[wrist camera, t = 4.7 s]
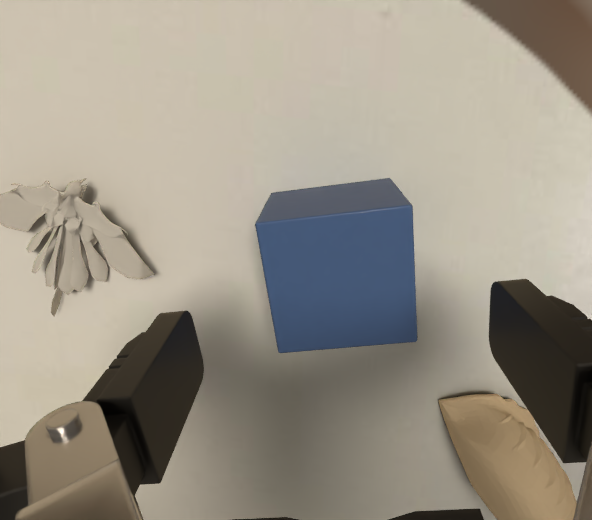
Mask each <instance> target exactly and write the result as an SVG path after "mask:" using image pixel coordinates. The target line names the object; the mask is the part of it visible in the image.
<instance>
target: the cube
mask: <svg viewBox="0 0 592 520" xmlns="http://www.w3.org/2000/svg"><path fill="white" fill-rule="evenodd" d="M255 226H256V231H257V237H258V242H259V248H260V253H261V259H262V265H263V270H264V276H265V281H266V287H267V292H268V298H269V303H270V309H271V314H272V320H273V325H274V331H275V336H276V342H277V347H278V352H279V353H287V352H299V351H311V350H323V349H335V348H347V347H359V346H371V345H383V344H395V343H407V342H416V341H417V316H416V289H415V262H414V235H413V208H412V205H411V203H410V202H409V201H408V200H407V198H406V197H405V196H404V195H403V194H402V192H401V191H400V190H399V189H398V187H397V186H396V185H395V184H394V182H393V181H392V180H391V179H390V178H387V179H379V180H371V181H363V182H355V183H347V184H339V185H331V186H323V187H315V188H307V189H299V190H291V191H283V192H275V193H271V195H270V197H269V199H268V201H267V203H266V204H265V206H264V208H263V210H262V212H261V214H260V216H259V218H258V220H257V222H256V224H255Z"/></svg>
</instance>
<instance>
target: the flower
mask: <svg viewBox="0 0 592 520" xmlns="http://www.w3.org/2000/svg"><path fill="white" fill-rule="evenodd" d="M84 180H86V178H85V179H83V180H80V181H79V180H77V181H72V182H70V183H69V184H68V185H67V187H66V189H65V192H60V191H57V190H55V189H53V188H52V187H50V186H49V185H50V183H49V181H45V182H44V185H42V186H39V187H33V188H30V187H26V186H23V185H21V184H15V183H13V184H11V185H19V186H18V187H17V188H16V189H14V190H11V191H9V192H7V193H3V194H0V223H1V224H2V225H3V226H5V227H8V228H12V229H17V230H22V231H26V232H28V231H29V229H30V228H31V227H32V225H33V224H34V222H35V221H36V220H37V219H38V218H39V217H41V216H42V215H44V214H45V213H46V212H47V213H46V215H45V219H46V223H47V224H48V227H47V228H46V229H44V230H43V231H41V232H39V233H37V234H36V235H35V236H34V237H33V238H32V239H31V241H30V243H29V245H28V246H27V248H26V249H27V251H28V252H33V251H34V250H35V249H36V248H37V247H38V245H39V244H40V242H41V240H42V238H43V237H44V235H45V234H46V233H47V232H48V231H49V230H50V229H52V234H51V236H50V238H49V239H48V241H47V243H46V244H45V246H44V247H43V249H42V250H41V252H40V253H39V255H38V256H37V258H36V259H35V261H34V265H33V269H32V272H33V273H36V272H37V271H38V270H39V268H40V266H41V265H42V263H43V260H44V257H45V253H46V250H47V247H48V246H49V244H50V242H51V240H52V238H53V236H54V234H55V232H56V230H57V228H58V227H59V226H60V228H59V231H58V235H57V239H56V243H55V248H54V252H53V255H52V257H51V259H50V262H49V264H48V265H47V267H46V272H45V278H46V286H49V287H51V286H52V285H53V284H54V280H55V270H56V258H57V254H58V250H59V245H60V250H59V258H58V266H57V274H56V281H55V289H56V288H57V290H56V293H55V296H54V298H53V301H52V308H51V313H52V315H53V316H55V314H56V311H57V309H58V307H59V304H60V300H61V296H62V292H64V293H66V294H67V295H69V294H70V293H71V292H72V291H73V290H74V289H75V290H77V291H80V292H81V291H82V289H83V288H84V286H85V284H86V283H87V281H88V274H89V273H88V271H87V269H86V266H85V264H84V261H83V258H82V254H81V245H80V237H81V240H82V243H83V244H84V248H85V251H86V254H87V259H88V265H89V269H90V272H91V275H92V277H93V278H95V279H96V280H97V281H104V282H106V280H107V275H108V267H107V263H108V265H109V266H110V267H112V268H113V269H115V270H116V271H118V272H119V273H121V274H122V275H124V276H125V277H127V278H135V279H143V278H146V277H149V276H152V275H155V274H154V273H153V272H152V271H151V270H150V268H149V267H148V266H147V265H146V264H145V263H144V261H143V260H142V259H141V258H140V256H139V255H138V254H137V253H136V251H135V250H134V249H133V247H132V246H131V245H130V244H129V242H128V240H127V239H126V237H125V236H124V234H123V232H122V230H123V231H125V230H124V229H122V228H121V227H119V226H117V225H115V224H113V223H111V222H110V221H109V220H108V219H107V218H106V217H105V215H104V214H103V213H102V211H101V209H100V205H99V203H97V202H93V205H90V204H87V203H85V202H83V200H82V195H83V192H84V191H85V190H87V189H85V188H86V187H87V186H86V185H87V184H85V185H83V186H80V184H81V183H82V182H83V181H84ZM85 186H86V187H85ZM83 189H85V190H83ZM82 190H83V191H82ZM94 204H95V205H94ZM65 220H66V221H65ZM125 232H126V231H125ZM126 233H127V232H126ZM79 234H80V235H79ZM97 241H98V242H99V243H100V245H101V247H102V249H103V252H104V255H105V258H106V260H107V263H106V261H105V260H104V259H103V258H102V257H101V256H100V255H99V254H98V252H97V251H96V250H95V249H94V248H93V246H94V245H95V244H96V242H97ZM55 289H54V290H55Z"/></svg>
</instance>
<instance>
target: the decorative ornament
mask: <svg viewBox="0 0 592 520" xmlns="http://www.w3.org/2000/svg"><path fill="white" fill-rule="evenodd" d="M438 401H439V404H440V408H441V411H442V414H443V417H444V420H445V423H446V426H447V429H448V431H449V434H450V437H451V439H452V441H453V444H454V446H455V449H456V451H457V453H458V456H459V458H460V460H461V463H462V465H463V467H464V469H465V472H466V474H467V477H468V479H469V481H470V483H471V485H472V486H473V487H474V489H475V490H476V492H477V493H478V495H479V496H480V497H481V499H482V500H483V502H484V503H485V504H486V506H487V507H488V509H489V510H490V511H491V512H492V513H493V515H494V516H495V517H496V518H497V519H498V520H573V518H574V513H575V509H576V505H577V503H576V499H575V496H574V494H573V491H572V486H571V483H570V480H569V478H568V476H567V475H566V473H565V472H564V470H563V469H562V468H561V466H560V465H559V463H558V461H557V460H556V458H555V457H554V455H553V453H552V452H551V451H550V450H549V448H548V447H547V445H546V444H545V442H544V441H543V440H542V439H541V438H539V430H538V429H537V427H536V425H535V422H534V418H533V416H532V415H531V413H530V412H529V411H528V410H527V409H525V408H523V407H520V406H518V404H517V403H516V402H515V401H514V400H512V399H503V398H502V397H501V396H499V395H498V394H486V395H484V394H476V395H466V396H460V397H454V398H448V399H441V400H438Z"/></svg>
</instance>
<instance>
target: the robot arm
mask: <svg viewBox="0 0 592 520" xmlns="http://www.w3.org/2000/svg"><path fill="white" fill-rule="evenodd" d="M489 342H490V348H491V351H492V354H493V357H494V359H495V360H496V362H497V363H498V365H499V366H500V368H501V370H502V371H503V373H504V374H505V376H506V377H507V379H508V380H509V382H510V383H511V385H512V386H513V388H514V389H515V391H516V392H517V394H518V395H519V397H520V398H521V400H522V401H523V403H524V404H525V406H526V407H527V409H528V410H529V412H530V413H531V415H532V416H533V418H534V419H535V421H536V422H537V424H538V425H539V427H540V428H541V430H542V431H543V433H544V434H545V436H546V437H547V439H548V440H549V442H550V443H551V445H552V446H553V448H554V449H555V451H556V452H557V454H558V456H559V457H560V459H561V460H562V462H563V463H577V462H587V463H586V467H585V471H584V475H583V480H582V484H581V488H580V492H579V497H578V501H577V505H576V509H575V513H574V518H573V520H592V320H591V319H587V316H586V315H585V314H583V313H582V312H581V311H580V310H579V309H577V308H576V307H575V306H574V305H572V304H570V303H567V302H565V301H563V300H561V299H558V298H556V297H554V296H546V295H545V294H544V293H542V292H541V291H540V290H539V289H538V288H537V287H536V286H534V285H533V284H532V283H531V282H530V281H529V280H527V279H519V280H509V281H498V282H494V283H493V284H492V287H491V296H490V320H489ZM203 373H204V365H203V358H202V354H201V350H200V346H199V342H198V338H197V334H196V330H195V327H194V323H193V319H192V316H191V314H190V313H189V312H188V311H179V312H169V313H160V314H159V315H158V316H157V317H156V319H155V320H154V321H153V323H152V324H151V326H150V327H149V328H148V330H147V331H146V332H143V333H141V334H139V335H138V336H137V337H135V338H134V339H133V340H131V341H130V342H128V343H127V344H126V345H125V347H124V348H123V349H122V350H121V352H120V353H119V354H118V356H117V359H114V361H113V362H112V363H111V365H110V366H109V369H107V370H106V371H105V372H104V374H103V375H102V376H101V377H100V379H99V380H98V381H97V383H96V384H95V385H94V387H93V388H92V389H91V390H90V392H89V393H88V394H87V396H86V397H85V398H84V399H83V401H81V402H75V403H71V404H68V405H65V406H63V407H60V408H58V409H56V410H54V411H52V412H51V413H49V414H47V415H46V416H45V417H43V418H42V419H41V420H39V421H38V422H37V423H36V424H35V425H34V426H33V427H32V428H31V429H30V431H29V432H28V434H27V436H26V438H25V440H24V441H21V442H17V443H14V444H11V445H7V446H4V447H0V520H143V517H142V514H141V511H140V509H139V506H138V503H137V501H136V498H135V494H136V492H137V489H138V487H139V485H140V484H157V483H161V480H162V478H163V475H164V473H165V470H166V468H167V466H168V463H169V461H170V458H171V456H172V453H173V451H174V449H175V446H176V444H177V441H178V439H179V436H180V434H181V431H182V429H183V427H184V424H185V422H186V419H187V417H188V414H189V412H190V409H191V407H192V405H193V402H194V400H195V397H196V395H197V392H198V390H199V388H200V385H201V383H202V379H203ZM234 520H297V519H293V518H288V517H280V518H257V519H234ZM389 520H484V519H483V516H482V514H481V511H480V509H460V510H438V511H415V512H412V513H408V514H405V515H402V516H399V517H395V518H392V519H389Z"/></svg>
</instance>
